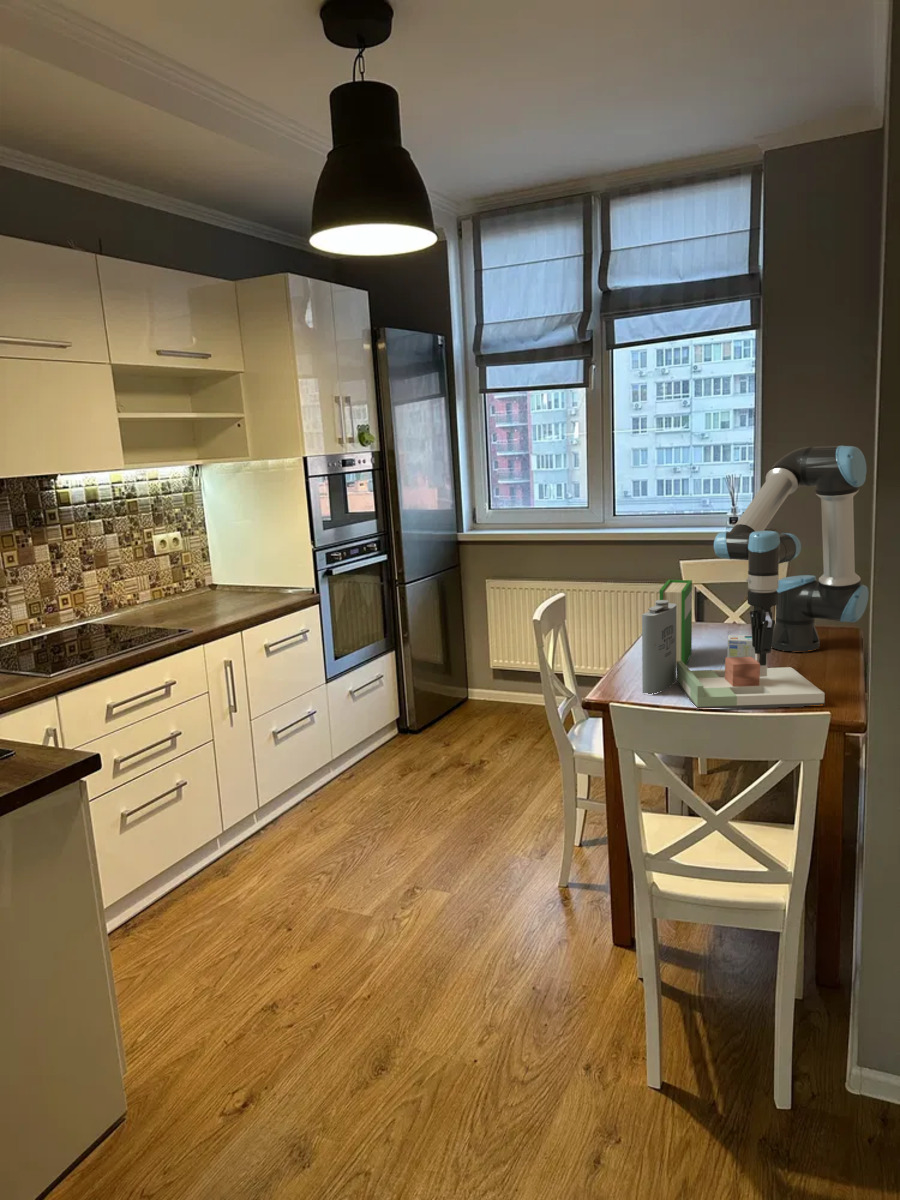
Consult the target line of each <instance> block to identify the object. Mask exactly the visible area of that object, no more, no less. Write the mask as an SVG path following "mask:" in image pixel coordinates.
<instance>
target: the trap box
mask: <svg viewBox="0 0 900 1200" xmlns="http://www.w3.org/2000/svg"><path fill="white" fill-rule="evenodd" d="M676 684H677V685H678V686H679V688H680V690H681V691H682V692H683V694H685V696H686V698H687V699H688V698H689V699H688V700H689V702H690V703H691V702H692V703H693V704H694V705H695V706H696V707H697V708H758V709H779V708H778V707H790V708H805V707H804V706H810V705H820V704H824V705H825V695H826V693H825V692H824V691H823V690H821V688H820V689H819V687H817V686H816V685H814V684H813V683H812V682H811V681H809V680H808V679H807V678H805V677H804V676H803V675H802V674H801V673H799V672H798V671H797V670H796V669H794V668H792V666H791V667H789V666H785V667H767V676H765V677H760V680H759V686H732V685H731V684H730V683H729V682H728V681H727V680H726V679H725V668H723V669H701V670H700V669H699V670H698V669H697V670H691V669H690V668H689V667H688V666H687V664H686V665H685V664H684V662H683V661H677V665H676ZM692 703H691V704H692ZM693 704H692V705H693ZM694 705H693V706H694ZM696 711H700V710H699V709H696Z"/></svg>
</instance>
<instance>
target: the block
mask: <svg viewBox="0 0 900 1200" xmlns="http://www.w3.org/2000/svg"><path fill="white" fill-rule="evenodd" d="M724 662H725V664H724V669H725V679H726V680H727V681H728V682H729V683H730V684H731V685H732V686H759V680H760V663H758V662H757V661H756V660H755V659H754V658H752V657H728V656H726V657H725V660H724Z"/></svg>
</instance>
